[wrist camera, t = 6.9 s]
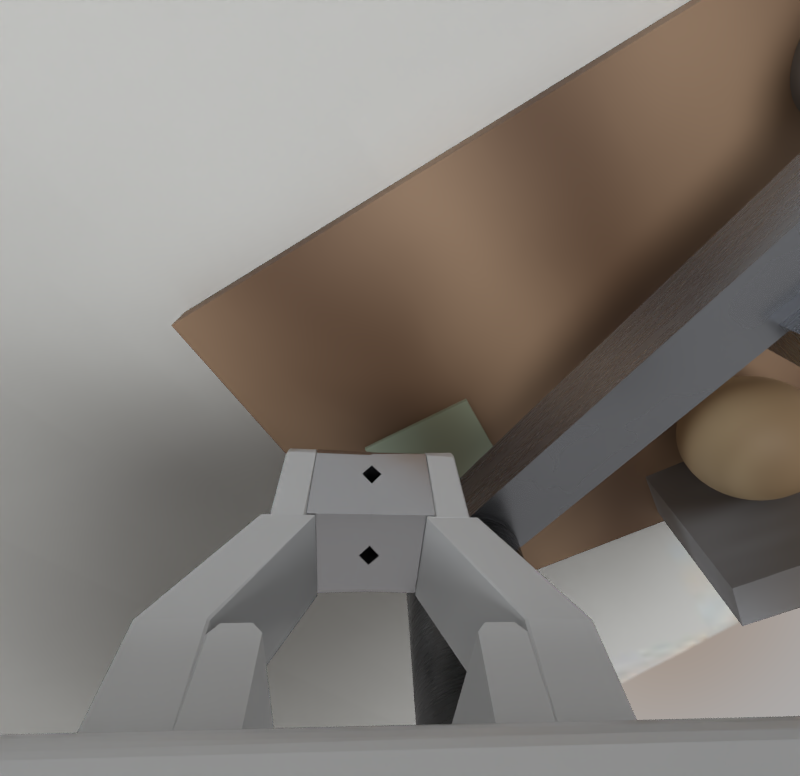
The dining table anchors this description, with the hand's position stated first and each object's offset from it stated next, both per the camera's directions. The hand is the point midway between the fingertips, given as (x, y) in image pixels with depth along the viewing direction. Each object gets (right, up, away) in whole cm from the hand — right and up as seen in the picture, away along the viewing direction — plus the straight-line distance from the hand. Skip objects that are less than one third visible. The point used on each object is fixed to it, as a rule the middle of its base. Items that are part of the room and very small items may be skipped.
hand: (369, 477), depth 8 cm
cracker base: (+7, +3, +6) cm, 9 cm away
